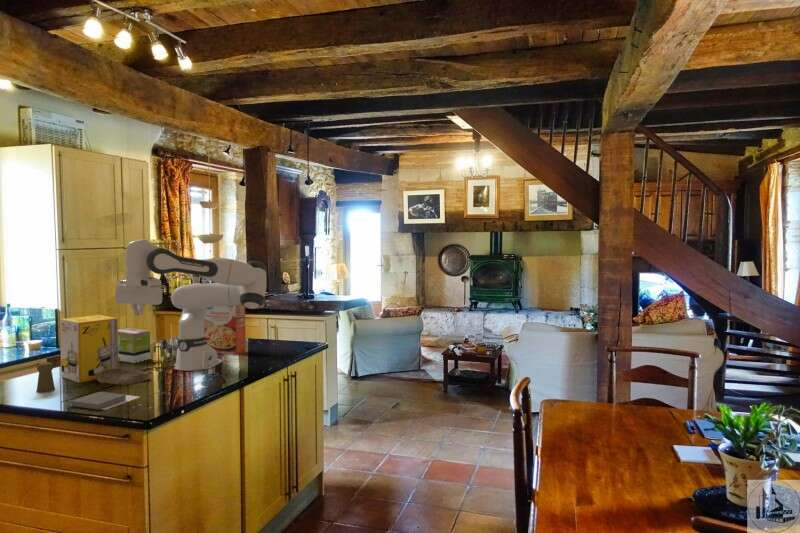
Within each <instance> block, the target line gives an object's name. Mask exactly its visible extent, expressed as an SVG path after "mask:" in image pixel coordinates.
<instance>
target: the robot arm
mask: <svg viewBox="0 0 800 533" xmlns="http://www.w3.org/2000/svg"><path fill="white" fill-rule="evenodd" d="M124 256H125V259H124V260H125V266H126V270H125V280H123V279H120V280H118V281H117V283H116V286H115V287H116V288H115V292H114V293H115V294H114V301H115V303H116V304H126V305H127V304H130V307H131V308H132V311H133V316H144V311H145V308H146V307H147V306H146V305H149V306H151V305H152V306H158V305H161V304H162V302H163V290H162V287H161V285H162V280H160V279H159V278H157V277H154V276H152V275H151V272H152V273H154V274H157V275H165V274H169V273H182V274H187V275H195V276H199V277H201V278H204V279H206V280H208V281H210V282H209V283H200V282H195V283H189V284H184V285H180V286H178V287H177V288H175V289H174V290H173V291H172V293H171V295H170V301H171V304H172V305H173V307H175V308H177V309H180V310H182V312H181V315H180V318H179V320H178V338H177V346H178V348H177V350H176V359H175V360H176V361H175V363H174V367H175V370H178V371H186V372H187V371H191V372H192V371H200V370H209V369H212V368H214V367H215V366H218V365H220V364H221V363H223V359H220V358H218V353H216V350H215V349H213V348H212V347H210V346H209V345H208V344H207V341H206V340H208V341H209V340H210V338H211V337H210V336H206V337H205V336H204V322H205V314H206V309H207V308H208V307H218V306H236V305H243V306H244V307H245V309H246V308H247V309H251V310H252V309H253V310H256V309H259V308H261V307H263V306H264V303H265V300H266V299H265V296H266V294H267V293H266V292H267V286H268V285H267V274H268V269H267V266H266V265H265V263H264V262H263V261H262V262H261V261H260V260H250V261H247V262H243V261H240V260H237V259H232V258H227V257H226V258H225V257H211V258H207V259H196V258H191V257H185V256H181V255H177V254H175V253H174V252H172V251H171V250H169V249H167V248H164V247H161V246H158V245H157V244H153V243H151V242H150V241H149V240H147V239H140V240H134V241H130V242H129V243H128V244H127V245H126V249H125V255H124Z"/></svg>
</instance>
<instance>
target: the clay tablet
mask: <svg viewBox="0 0 800 533" xmlns="http://www.w3.org/2000/svg"><path fill="white" fill-rule="evenodd" d="M148 380H150V373H149V372H147V371H141V370H133V369H121V368H119V369H110V370H105V371H103V372H102V373H99V375H98V376H97V379H96V381H98V382H99V384H109V385H121V386H122V385H123V386H125V385H132V384H135V383H142V382H145V381H148Z"/></svg>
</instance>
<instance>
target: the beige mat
mask: <svg viewBox="0 0 800 533" xmlns="http://www.w3.org/2000/svg"><path fill="white" fill-rule="evenodd" d="M125 395H126V400H124V401H121V402H118V403H115V404H112V405H110V406H107V407H104V408H101V409H100V410H102V411H103V410H104V411H106V410H109V409H111V408H114V407H117V406H119V405H122V404H126V403H128V402H131V401H133V400H137V399H139V398H140V396H137V395H136V396H135V395H129V394H125Z"/></svg>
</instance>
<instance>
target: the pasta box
mask: <svg viewBox="0 0 800 533" xmlns="http://www.w3.org/2000/svg"><path fill="white" fill-rule="evenodd" d="M204 336H205V337H206V336H210V337H211V338H210V340H209V341H208V340H206V341H207V344H208V345H209V346H210V347H212V348H213V349H215V350H216V353H217V354H218V353H220V355H229V354H231V356H238V355H240V354H244V353H246V307H244V306H243V305H236V306H218V307H208V308H207V309H206V314H205V322H204ZM243 352H244V353H243ZM237 354H238V355H237Z"/></svg>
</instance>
